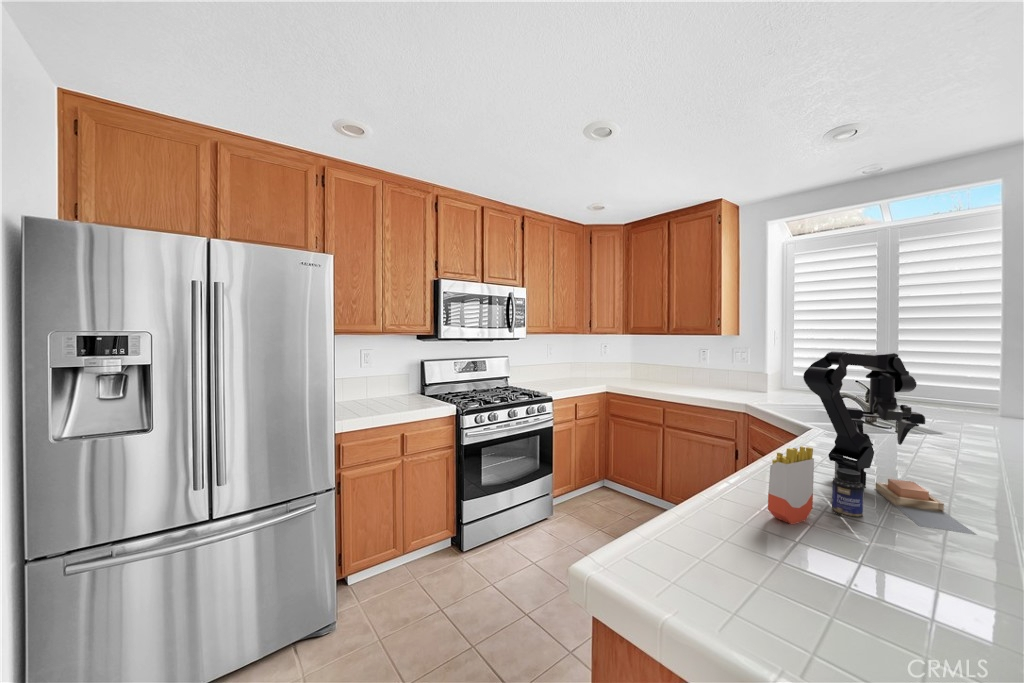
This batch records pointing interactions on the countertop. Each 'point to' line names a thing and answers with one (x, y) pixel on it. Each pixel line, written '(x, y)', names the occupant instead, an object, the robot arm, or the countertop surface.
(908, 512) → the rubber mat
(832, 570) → the countertop surface
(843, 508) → the pill bottle
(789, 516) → the french fries container
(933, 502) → the tray
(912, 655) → the countertop surface
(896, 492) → the card deck block
